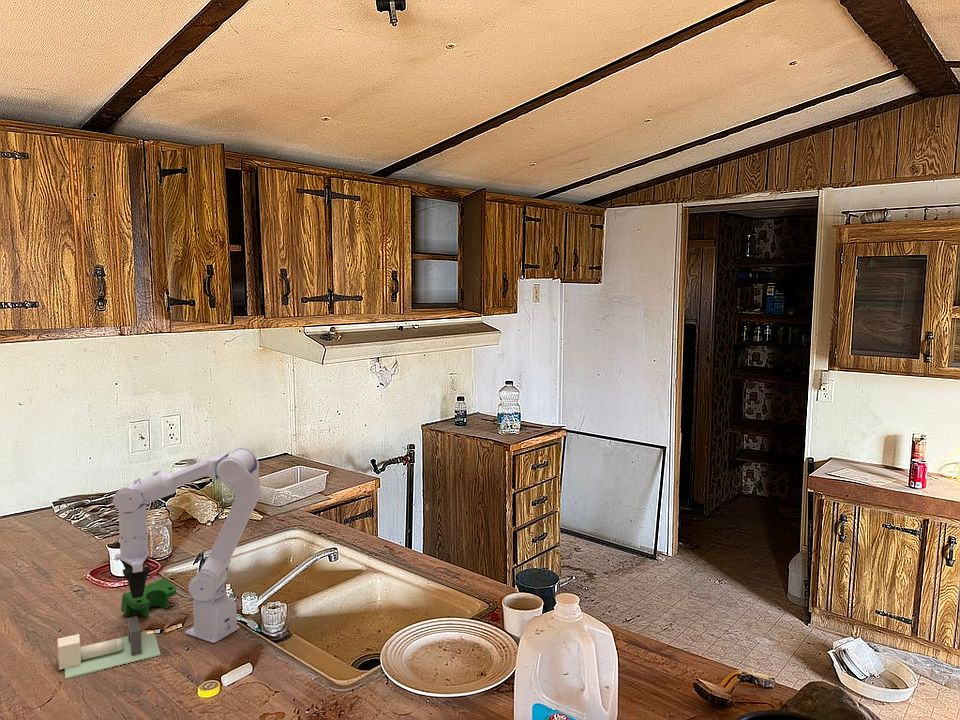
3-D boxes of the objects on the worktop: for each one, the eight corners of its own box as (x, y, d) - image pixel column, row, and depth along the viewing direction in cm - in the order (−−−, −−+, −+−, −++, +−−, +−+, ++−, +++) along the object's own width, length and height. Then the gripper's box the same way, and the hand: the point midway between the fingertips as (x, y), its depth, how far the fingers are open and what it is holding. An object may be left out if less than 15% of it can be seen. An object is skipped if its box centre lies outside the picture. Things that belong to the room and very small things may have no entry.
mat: (153, 631, 161) (153, 630, 161) (160, 655, 151) (160, 654, 151) (64, 652, 151) (64, 650, 151) (65, 679, 141) (65, 677, 141)
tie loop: (138, 638, 157) (137, 616, 156) (141, 653, 151) (140, 630, 150) (128, 640, 156) (127, 618, 155) (131, 656, 150) (130, 632, 149)
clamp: (140, 634, 168) (130, 611, 163) (126, 622, 170) (116, 599, 165) (183, 600, 176) (174, 577, 171) (169, 589, 179) (160, 566, 174)
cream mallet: (123, 645, 154) (122, 624, 153) (125, 653, 150) (124, 632, 150) (58, 660, 147) (57, 638, 147) (59, 669, 144) (57, 647, 143)
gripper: (111, 527, 162) (114, 582, 164) (116, 548, 150) (119, 607, 152) (144, 522, 166) (146, 575, 168) (151, 542, 154) (154, 599, 155)
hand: (135, 590), depth 160 cm, fingers open, 7 cm apart
